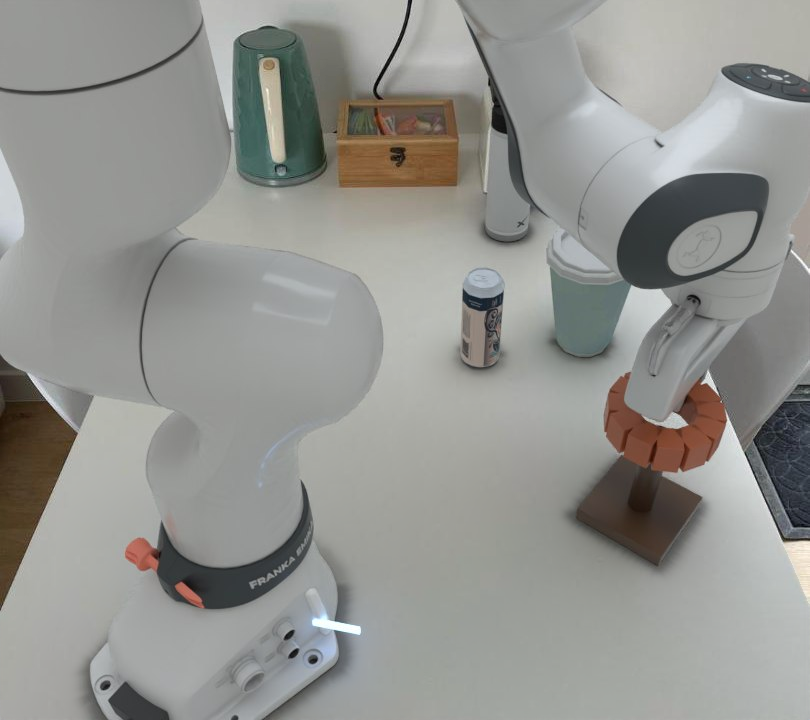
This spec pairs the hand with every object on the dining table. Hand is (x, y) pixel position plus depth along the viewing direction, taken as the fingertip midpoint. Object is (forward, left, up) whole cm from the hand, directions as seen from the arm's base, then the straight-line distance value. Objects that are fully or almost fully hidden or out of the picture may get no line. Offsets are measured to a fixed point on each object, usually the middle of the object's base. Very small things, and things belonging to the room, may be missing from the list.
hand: (682, 393), depth 74 cm
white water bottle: (+30, +39, -14) cm, 51 cm away
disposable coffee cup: (+15, +18, -14) cm, 27 cm away
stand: (-4, 0, -14) cm, 14 cm away
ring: (-4, 0, -2) cm, 4 cm away
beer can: (+5, +26, -14) cm, 30 cm away
